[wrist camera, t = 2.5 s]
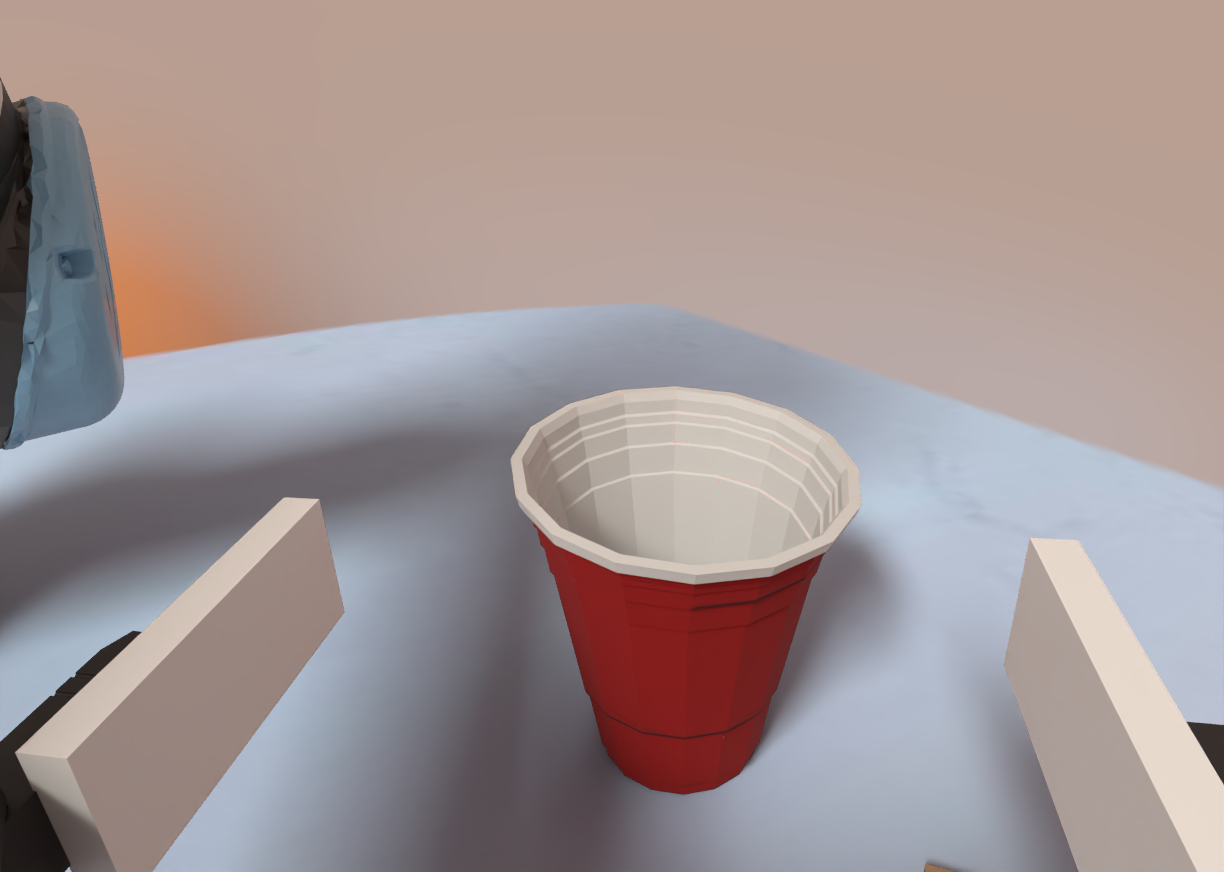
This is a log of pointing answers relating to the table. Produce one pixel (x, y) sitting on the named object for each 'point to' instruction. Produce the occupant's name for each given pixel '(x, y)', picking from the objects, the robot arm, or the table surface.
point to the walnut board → (935, 869)
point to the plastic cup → (682, 563)
